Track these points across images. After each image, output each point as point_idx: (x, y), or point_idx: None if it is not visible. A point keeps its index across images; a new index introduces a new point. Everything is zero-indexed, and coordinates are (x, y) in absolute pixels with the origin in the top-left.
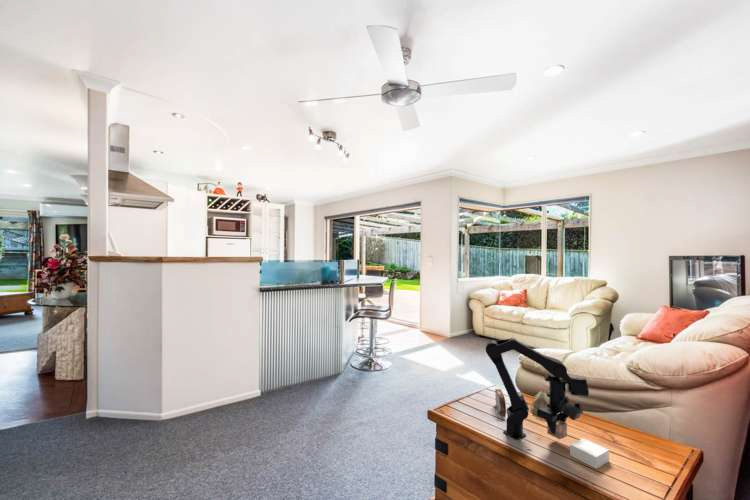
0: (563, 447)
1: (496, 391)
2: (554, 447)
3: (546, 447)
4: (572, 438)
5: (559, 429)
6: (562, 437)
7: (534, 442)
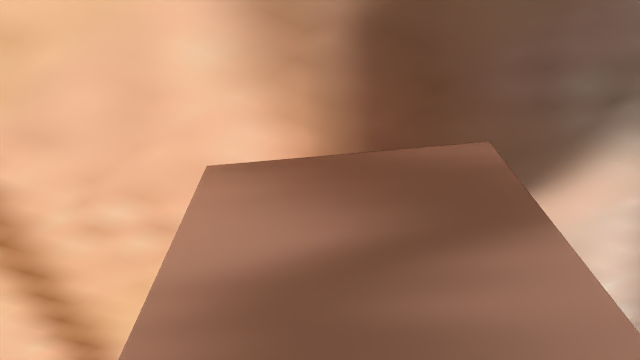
0: (399, 56)
1: None
2: (532, 116)
3: (637, 162)
4: (3, 167)
5: (607, 306)
6: (385, 157)
7: (631, 290)
